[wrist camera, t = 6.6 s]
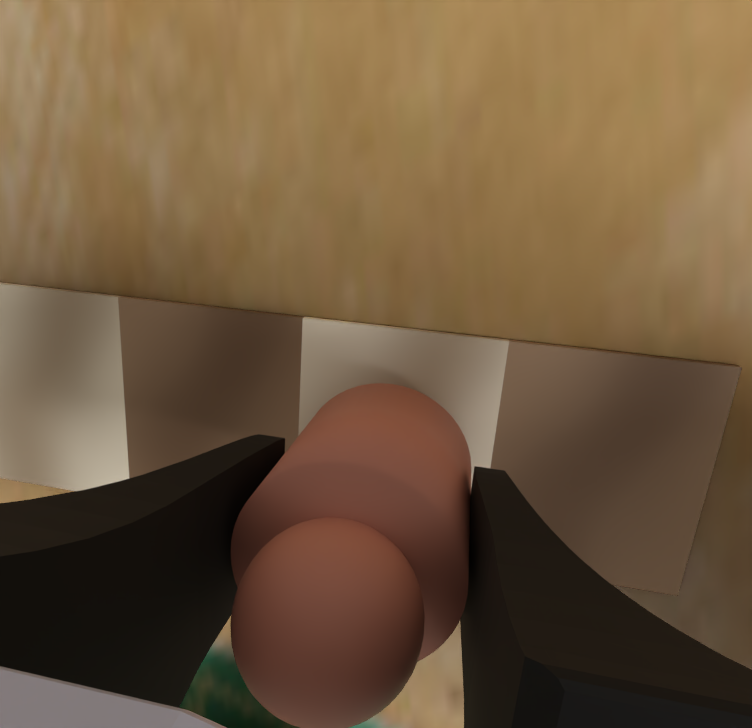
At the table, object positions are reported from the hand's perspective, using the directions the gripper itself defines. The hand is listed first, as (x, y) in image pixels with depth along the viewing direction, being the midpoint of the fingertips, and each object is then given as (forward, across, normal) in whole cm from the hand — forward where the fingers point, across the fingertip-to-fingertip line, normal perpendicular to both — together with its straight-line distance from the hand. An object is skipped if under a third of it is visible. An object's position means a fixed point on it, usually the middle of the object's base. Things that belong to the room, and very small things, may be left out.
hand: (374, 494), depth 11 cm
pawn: (+1, 0, 0) cm, 1 cm away
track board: (+3, +2, 0) cm, 4 cm away
